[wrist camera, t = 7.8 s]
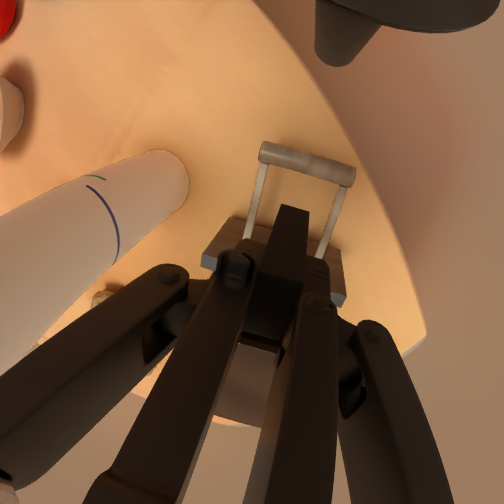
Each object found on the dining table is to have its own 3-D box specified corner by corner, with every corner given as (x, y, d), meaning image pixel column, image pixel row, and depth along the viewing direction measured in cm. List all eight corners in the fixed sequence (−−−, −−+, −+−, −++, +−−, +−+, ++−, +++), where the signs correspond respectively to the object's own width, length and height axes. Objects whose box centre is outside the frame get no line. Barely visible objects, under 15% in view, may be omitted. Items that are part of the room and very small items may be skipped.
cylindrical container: (168, 225, 31) (3, 402, 10) (122, 187, 30) (-64, 318, 9) (202, 176, 28) (-15, 361, 6) (150, 136, 27) (-89, 242, 5)
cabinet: (215, 269, 33) (183, 324, 25) (321, 300, 32) (320, 364, 24) (201, 351, 40) (178, 402, 32) (284, 375, 39) (275, 431, 31)
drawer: (248, 129, 24) (222, 137, 17) (371, 165, 23) (393, 188, 17) (210, 316, 35) (188, 362, 28) (298, 342, 34) (292, 393, 28)
